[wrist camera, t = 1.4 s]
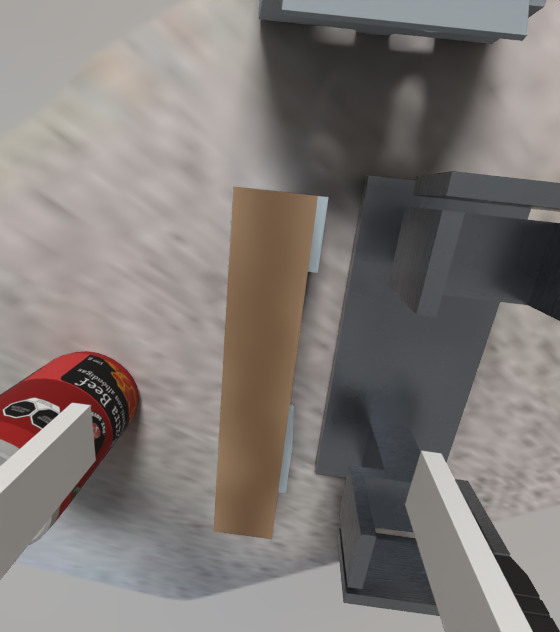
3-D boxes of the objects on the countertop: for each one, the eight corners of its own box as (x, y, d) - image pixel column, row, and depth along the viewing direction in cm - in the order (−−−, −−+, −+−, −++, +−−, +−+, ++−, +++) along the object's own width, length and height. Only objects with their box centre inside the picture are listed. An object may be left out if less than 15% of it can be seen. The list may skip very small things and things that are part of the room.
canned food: (155, 419, 29) (76, 542, 19) (72, 435, 31) (-46, 560, 20) (119, 338, 27) (7, 427, 17) (31, 359, 28) (-127, 455, 18)
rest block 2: (229, 437, 30) (216, 484, 25) (232, 397, 28) (218, 438, 24) (288, 445, 29) (285, 493, 25) (294, 404, 28) (292, 447, 23)
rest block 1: (243, 249, 24) (228, 262, 19) (247, 188, 23) (232, 186, 18) (314, 257, 24) (317, 272, 19) (323, 196, 23) (328, 197, 18)
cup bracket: (315, 463, 30) (322, 601, 20) (365, 176, 22) (419, 161, 12) (432, 478, 30) (499, 626, 20) (523, 193, 22) (714, 193, 12)
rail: (225, 485, 25) (213, 531, 21) (246, 188, 18) (233, 186, 15) (276, 491, 25) (271, 539, 21) (315, 195, 18) (317, 196, 15)
